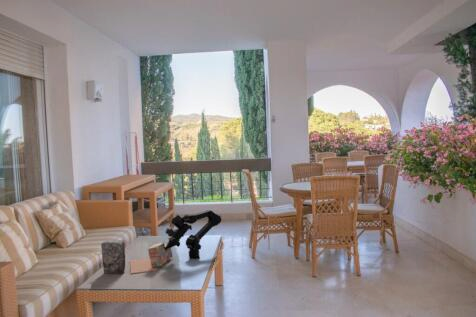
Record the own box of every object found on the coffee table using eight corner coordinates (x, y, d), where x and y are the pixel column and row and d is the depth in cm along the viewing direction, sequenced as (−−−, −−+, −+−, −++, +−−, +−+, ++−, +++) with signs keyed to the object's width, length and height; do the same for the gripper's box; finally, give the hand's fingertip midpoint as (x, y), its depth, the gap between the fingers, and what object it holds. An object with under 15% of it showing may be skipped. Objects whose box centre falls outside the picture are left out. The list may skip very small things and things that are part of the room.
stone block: (102, 274, 231) (100, 242, 230) (106, 270, 238) (104, 239, 237) (123, 274, 231) (121, 242, 230) (127, 270, 238) (125, 239, 237)
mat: (154, 258, 260) (154, 257, 260) (157, 270, 235) (157, 269, 235) (130, 261, 255) (130, 260, 255) (130, 274, 231) (130, 273, 230)
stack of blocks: (164, 258, 260) (161, 240, 260) (172, 256, 259) (169, 239, 259) (151, 267, 239) (147, 248, 239) (160, 266, 238) (156, 246, 238)
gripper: (170, 220, 258) (154, 238, 256) (174, 226, 241) (157, 245, 238) (182, 231, 261) (166, 248, 258) (187, 237, 243) (170, 256, 241)
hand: (165, 249), depth 249 cm, fingers closed
